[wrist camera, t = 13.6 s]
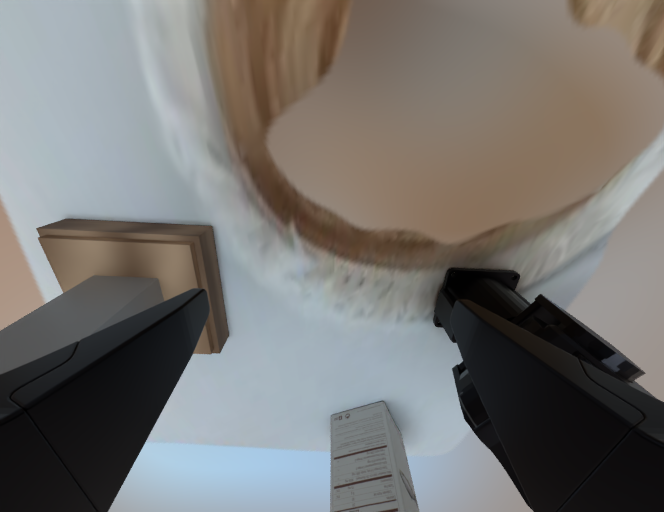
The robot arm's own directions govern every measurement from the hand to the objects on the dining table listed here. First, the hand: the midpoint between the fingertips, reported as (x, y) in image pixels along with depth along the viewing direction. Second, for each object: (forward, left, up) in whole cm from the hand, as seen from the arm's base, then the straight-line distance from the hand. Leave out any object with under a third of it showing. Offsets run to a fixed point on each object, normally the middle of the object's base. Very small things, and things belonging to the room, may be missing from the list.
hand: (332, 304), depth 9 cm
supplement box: (-6, +28, -13) cm, 32 cm away
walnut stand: (+16, +8, -13) cm, 22 cm away
